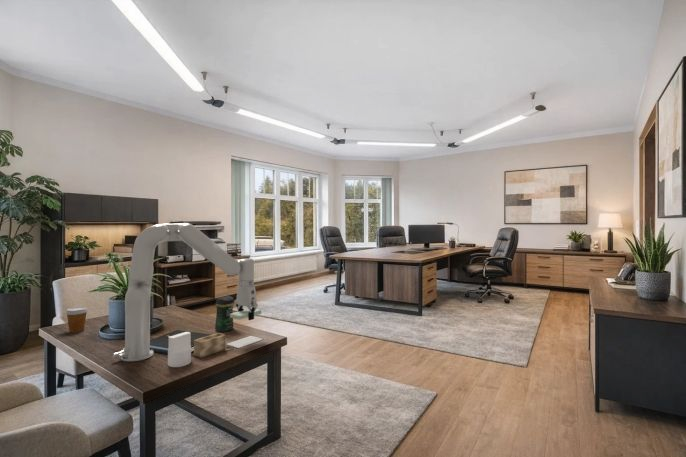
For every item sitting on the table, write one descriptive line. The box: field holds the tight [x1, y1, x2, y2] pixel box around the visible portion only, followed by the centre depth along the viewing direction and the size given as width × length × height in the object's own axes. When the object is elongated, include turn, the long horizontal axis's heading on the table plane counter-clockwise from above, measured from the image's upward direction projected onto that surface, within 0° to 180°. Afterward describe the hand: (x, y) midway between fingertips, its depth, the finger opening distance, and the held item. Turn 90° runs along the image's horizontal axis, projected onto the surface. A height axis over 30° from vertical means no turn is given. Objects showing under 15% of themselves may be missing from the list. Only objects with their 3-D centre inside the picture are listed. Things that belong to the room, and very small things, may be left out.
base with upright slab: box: [167, 331, 192, 368], centre depth 152 cm, size 9×9×12 cm
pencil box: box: [193, 332, 226, 358], centre depth 165 cm, size 13×5×7 cm, turn 146°
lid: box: [230, 307, 262, 321], centre depth 179 cm, size 14×7×2 cm, turn 146°
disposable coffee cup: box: [65, 306, 88, 333], centre depth 192 cm, size 10×10×12 cm
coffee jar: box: [214, 295, 235, 333], centre depth 199 cm, size 10×8×19 cm
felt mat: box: [225, 335, 264, 350], centre depth 179 cm, size 16×9×1 cm, turn 146°
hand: (245, 318), depth 179 cm, fingers closed on lid, 7 cm apart
